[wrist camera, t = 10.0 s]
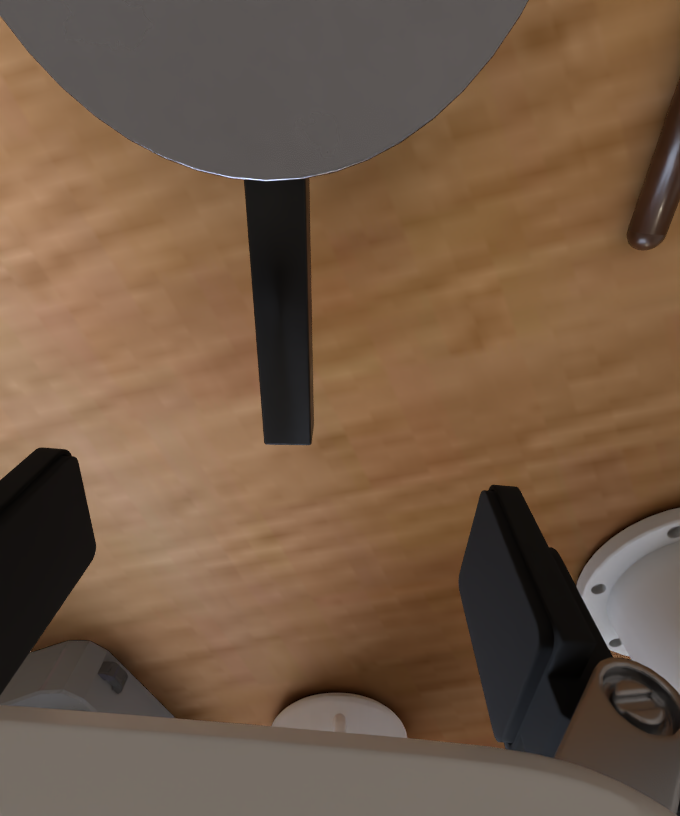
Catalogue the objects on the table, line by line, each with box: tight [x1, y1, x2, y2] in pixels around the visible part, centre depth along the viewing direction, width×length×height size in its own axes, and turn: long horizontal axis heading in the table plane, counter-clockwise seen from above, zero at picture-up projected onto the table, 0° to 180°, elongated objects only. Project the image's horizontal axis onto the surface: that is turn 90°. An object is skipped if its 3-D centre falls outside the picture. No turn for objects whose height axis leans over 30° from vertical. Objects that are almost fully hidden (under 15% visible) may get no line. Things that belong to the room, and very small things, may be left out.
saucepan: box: [0, 0, 529, 445], centre depth 14 cm, size 14×23×9 cm, turn 179°
